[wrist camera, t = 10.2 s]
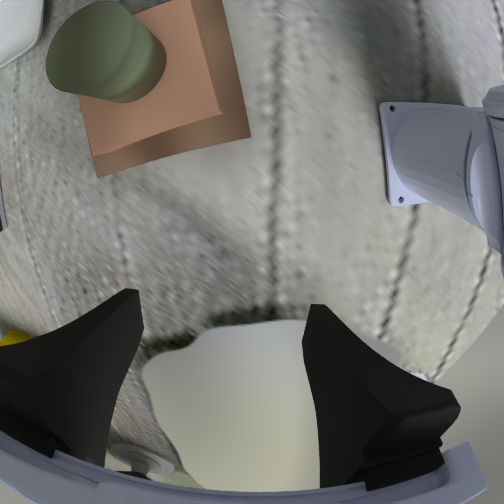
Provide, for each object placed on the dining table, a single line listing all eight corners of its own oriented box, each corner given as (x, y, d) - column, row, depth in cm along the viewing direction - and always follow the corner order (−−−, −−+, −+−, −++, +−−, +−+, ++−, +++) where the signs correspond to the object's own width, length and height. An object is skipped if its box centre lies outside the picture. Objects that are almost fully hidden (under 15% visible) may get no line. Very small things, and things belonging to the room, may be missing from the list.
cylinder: (164, 24, 11) (131, -13, 7) (169, 91, 13) (132, 71, 8) (96, 48, 12) (48, 26, 7) (99, 112, 13) (46, 106, 9)
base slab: (222, 6, 15) (219, -8, 12) (251, 136, 19) (251, 137, 17) (90, 51, 15) (74, 45, 13) (112, 172, 20) (97, 178, 17)
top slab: (195, 10, 13) (188, -5, 11) (223, 113, 16) (218, 110, 14) (89, 54, 14) (71, 47, 11) (111, 152, 17) (93, 155, 14)
